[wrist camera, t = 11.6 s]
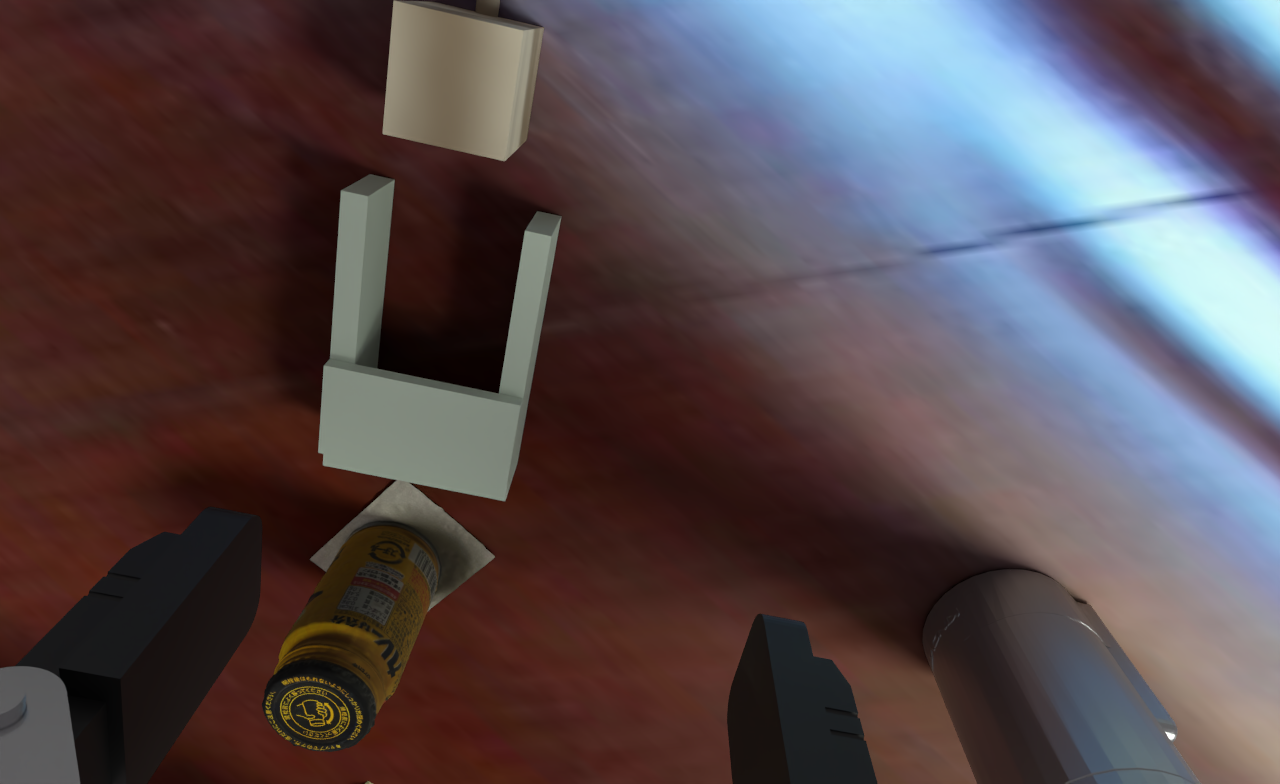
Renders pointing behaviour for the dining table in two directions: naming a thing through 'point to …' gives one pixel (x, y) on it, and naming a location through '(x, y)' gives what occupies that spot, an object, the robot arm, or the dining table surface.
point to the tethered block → (461, 77)
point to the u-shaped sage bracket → (412, 406)
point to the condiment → (366, 617)
